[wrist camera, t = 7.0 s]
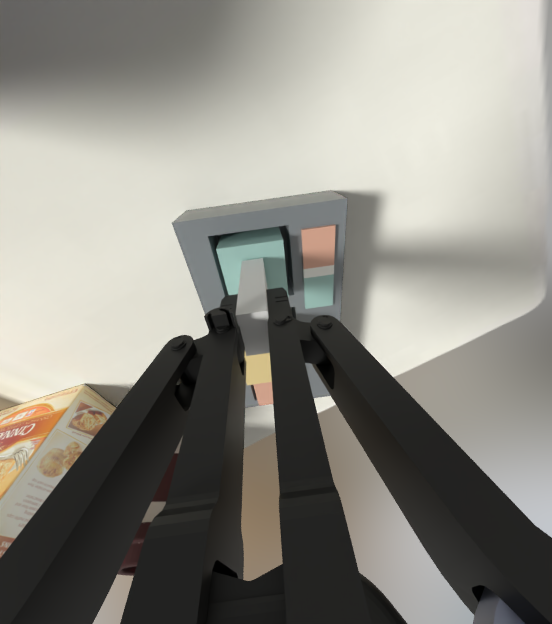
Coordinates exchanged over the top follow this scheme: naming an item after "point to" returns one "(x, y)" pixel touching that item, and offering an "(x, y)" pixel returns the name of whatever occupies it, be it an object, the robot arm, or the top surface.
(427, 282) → the top surface
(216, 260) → the keypad board
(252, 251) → the key
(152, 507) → the coffee cup
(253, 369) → the key mid
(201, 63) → the top surface
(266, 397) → the key
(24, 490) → the coffeecake box
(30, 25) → the top surface
